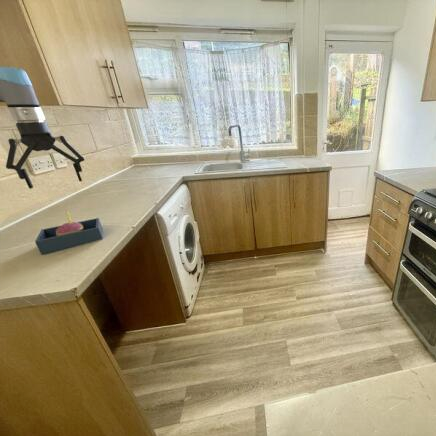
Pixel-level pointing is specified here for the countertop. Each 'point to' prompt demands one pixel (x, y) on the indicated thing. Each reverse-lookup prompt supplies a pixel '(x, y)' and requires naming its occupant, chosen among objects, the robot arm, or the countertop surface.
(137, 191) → the countertop surface
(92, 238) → the bin
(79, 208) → the countertop surface
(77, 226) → the cupcake
